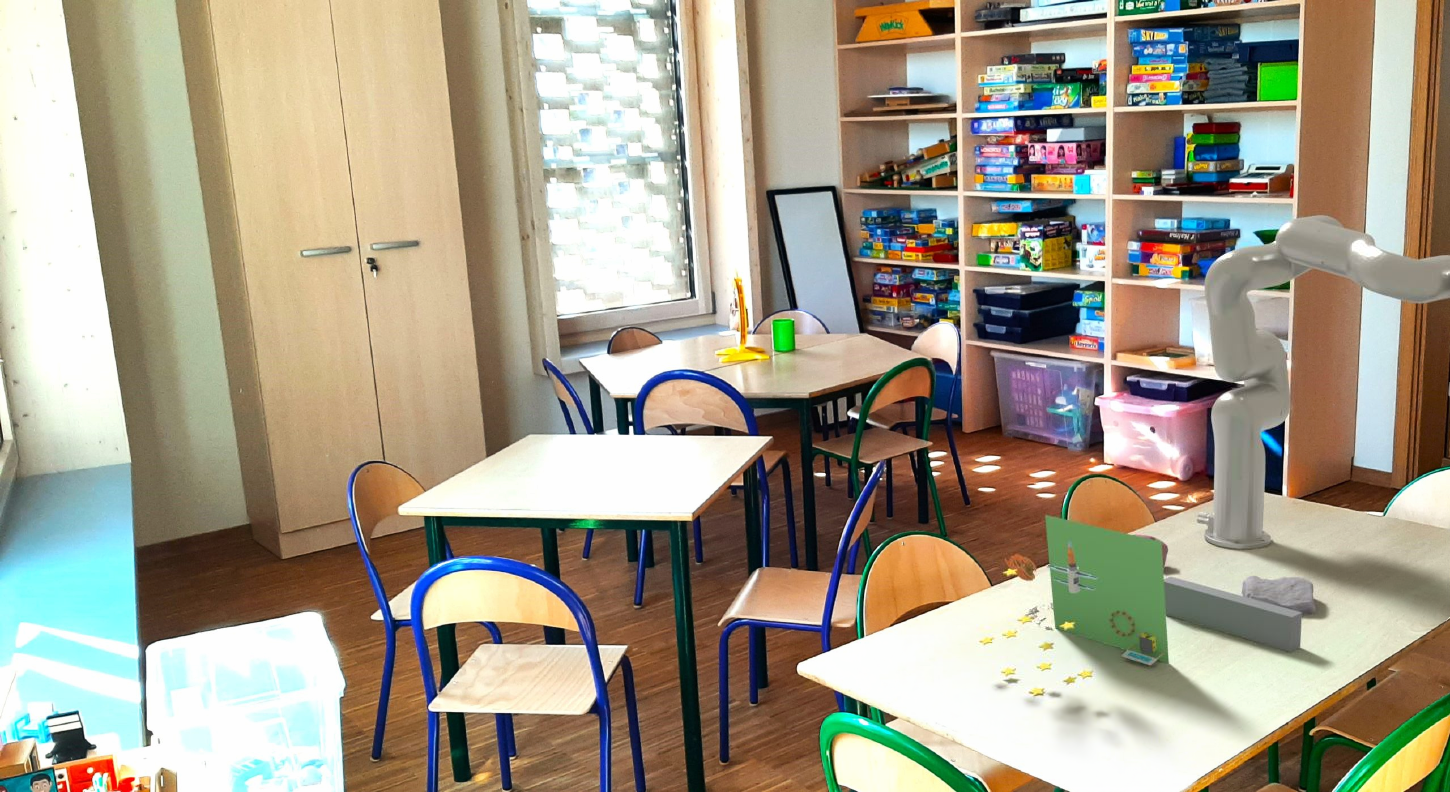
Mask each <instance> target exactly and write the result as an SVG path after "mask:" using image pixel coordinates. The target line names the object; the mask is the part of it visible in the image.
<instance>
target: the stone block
mask: <svg viewBox="0 0 1450 792" xmlns="http://www.w3.org/2000/svg"><path fill="white" fill-rule="evenodd" d="M1241 594H1242V596H1244V597H1247V598H1251V599H1255V600H1258V601H1262V602H1266V603H1269V604H1273V605H1277V606H1280V607H1284V608H1288V609H1291V610H1295V611H1298V612H1302V615H1307V614H1308V615H1310V614H1311V615H1312V614H1315V611H1316V610H1317V608H1316V604H1315V599H1314V583H1313V582H1312V581H1310V579H1306V578H1305V577H1301V576H1291V577H1286V576H1284V577H1283V576H1282V577H1279V578H1275V579H1268V578H1261V577H1258V576H1257V575H1250V576H1249V577H1247V578H1245V579H1244V580H1243V582H1242V587H1241Z"/></svg>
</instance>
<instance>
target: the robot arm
mask: <svg viewBox="0 0 1450 792" xmlns="http://www.w3.org/2000/svg"><path fill="white" fill-rule="evenodd" d="M1275 235H1276V236H1275V239H1274V241H1273V242H1270V243H1266V244H1260V245H1252V246H1246V247H1240V248H1236V249H1233V250H1231V251H1228V252H1226V253H1224V254H1223V255H1221V256H1220V257H1218V258H1217V259H1216V260H1215V261H1213V263H1212V264H1211V265H1210V267H1209V269H1208V270H1207V273H1206V275H1205V279H1204V295H1205V301H1206V302H1205V303H1206V306H1207V311H1208V312H1207V313H1208V320H1209V321H1208V322H1209V332H1210V333H1209V334H1210V340H1211V352H1212V353H1211V354H1212V361H1213V366H1214V371H1215V373H1216V375H1217V376H1218V377H1219V378H1220V379H1222V381H1225V382H1227V383H1228V382H1229V383H1238V382H1243V383H1244V386H1241V387H1238V388H1234V389H1231V390H1229V391H1226V392H1224V393H1222V394H1221V395H1220V396H1218V397H1217V399H1216V400H1215V402H1214V404H1213V405H1212V407H1211V416H1210V419H1211V425H1212V426H1211V427H1212V433H1213V440H1214V441H1213V442H1214V478H1213V481H1214V482H1213V504H1212V505H1213V509H1212V514H1211V513H1209V512H1207V511H1199V512H1198V514H1197V517H1196V522H1197V524H1201V525H1206V526H1207V529H1206V530H1205V531H1204V534H1203V535H1204V539H1205V540H1206V541H1207V542H1208V543H1210V544H1212V545H1215V546H1218V547H1223V548H1229V549H1237V550H1238V549H1239V550H1251V549H1258V548H1264V547H1266V546H1268V545H1270V543H1271V538H1272V537H1271V534H1269V533H1268V532H1267V531H1265V530H1264V512H1265V511H1264V507H1265V487H1266V486H1265V481H1266V451H1265V450H1266V449H1265V446H1264V442H1263V440H1262V437H1261V432H1263V431H1266V430H1270V429H1272V428H1275V427H1278V426H1279V425H1281V424H1283V422H1285V421H1286V420H1287V418H1288V416H1289V414H1290V411H1291V392H1290V389H1291V388H1290V383H1289V382H1290V381H1289V370H1288V361H1287V353H1286V350H1285V348H1284V345H1283V343H1282V342H1281V340H1280V339H1279V338H1278V337H1277V335H1275V334H1274V333H1272V332H1270V331H1268V330H1265V329H1264V330H1263V329H1257V327H1256V326H1257V325H1256V315H1255V309H1254V307H1253V304H1252V302H1251V300H1250V298H1249V296H1248V295H1247V294H1248V293H1249V292H1251V291H1254V290H1261V289H1266V288H1271V287H1276V286H1279V285H1280V286H1281V285H1283V284H1285V283H1289V282H1290V281H1292V280H1294V279H1296V278H1298V277H1300V276H1302V275H1303V274H1305V273H1307V272H1309V271H1311V270H1313V269H1315V270H1320V271H1322V272H1325V273H1329V274H1333V275H1336V276H1339V277H1342V278H1346V279H1349V280H1351V281H1352V282H1354V283H1355V284H1357V285H1359V286H1361V287H1362V288H1364V289H1365V290H1368V291H1370V292H1373V293H1376V294H1379V295H1382V296H1385V297H1389V298H1392V299H1395V300H1400V301H1402V302H1406V303H1407V302H1408V303H1413V304H1427V303H1432V302H1435V301H1440V300H1447V299H1450V254H1447V255H1446V254H1443V255H1442V254H1441V255H1437V256H1429V257H1426V258H1420V259H1419V258H1418V259H1417V258H1414V257H1413V258H1412V257H1409V256H1405V255H1401V254H1396V253H1393V252H1390V251H1387V250H1384V249H1381V248H1379V247H1378V246H1376V243H1375V239H1374V238H1373V236H1372V235H1370V234H1368V233H1366V232H1361V231H1357V230H1354V229H1350V228H1345V227H1344V226H1343V224H1342V223H1341V222H1340V221H1339V220H1337V219H1336V218H1334V217H1331V216H1329V215H1319V214H1318V215H1312V216H1305V217H1304V216H1302V217H1298V218H1293V219H1291V220H1288V221H1287V222H1285V223H1284V224H1283V225H1282V226H1281V227H1279V230H1278V231H1277V233H1276V234H1275ZM1448 396H1449V397H1450V383H1449V385H1448Z"/></svg>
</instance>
